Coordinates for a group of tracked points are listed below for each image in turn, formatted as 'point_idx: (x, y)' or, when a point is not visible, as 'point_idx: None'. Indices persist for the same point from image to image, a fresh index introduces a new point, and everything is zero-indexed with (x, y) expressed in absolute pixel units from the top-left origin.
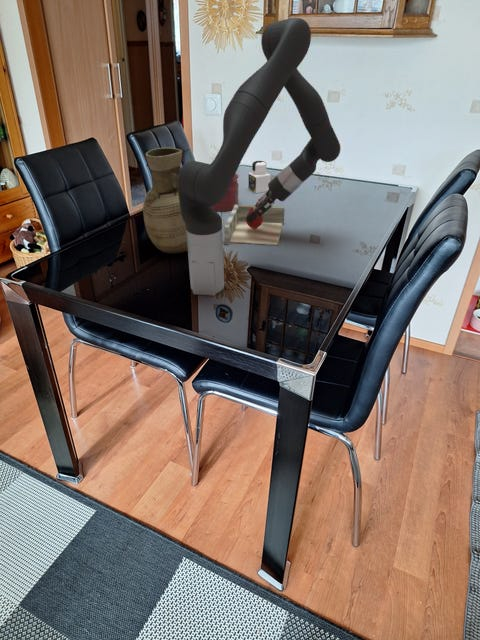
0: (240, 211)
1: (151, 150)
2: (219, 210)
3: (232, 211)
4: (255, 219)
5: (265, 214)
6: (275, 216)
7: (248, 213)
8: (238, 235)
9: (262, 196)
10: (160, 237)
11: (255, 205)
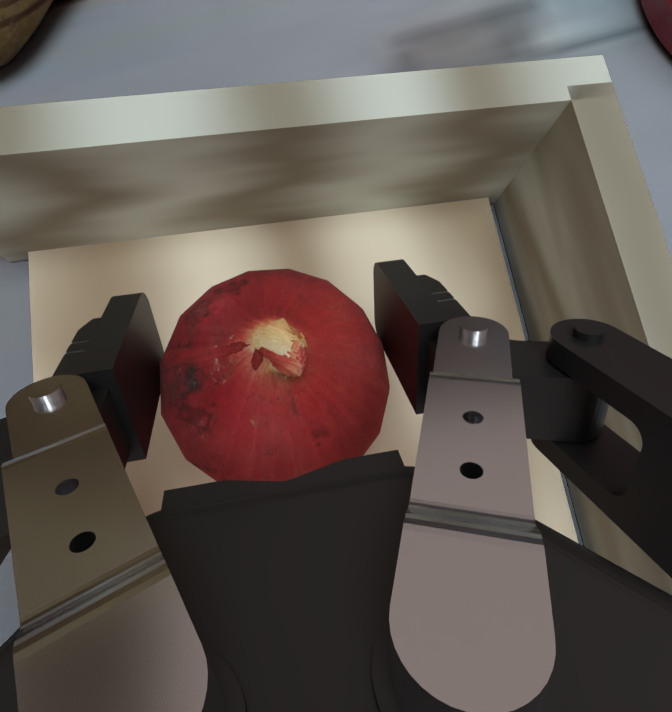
0: (546, 159)
1: None
2: (646, 4)
3: (392, 81)
4: (166, 420)
5: (611, 427)
6: (632, 544)
7: (226, 287)
8: (175, 286)
9: (462, 449)
10: None
11: (414, 324)
